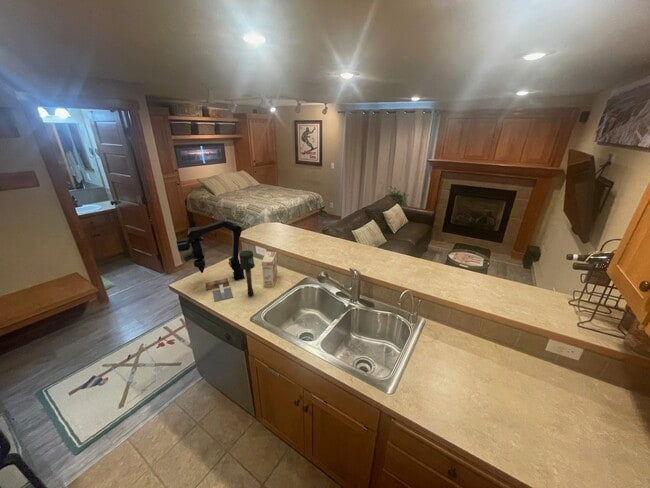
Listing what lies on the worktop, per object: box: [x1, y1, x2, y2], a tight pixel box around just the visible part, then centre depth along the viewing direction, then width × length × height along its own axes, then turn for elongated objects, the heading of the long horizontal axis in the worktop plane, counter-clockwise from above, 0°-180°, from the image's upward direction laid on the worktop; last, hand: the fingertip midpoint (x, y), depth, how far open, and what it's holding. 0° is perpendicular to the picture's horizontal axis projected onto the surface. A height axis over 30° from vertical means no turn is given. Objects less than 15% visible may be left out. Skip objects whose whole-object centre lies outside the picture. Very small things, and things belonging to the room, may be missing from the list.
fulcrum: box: [212, 284, 234, 303], centre depth 165 cm, size 11×12×4 cm
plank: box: [204, 277, 230, 292], centre depth 173 cm, size 14×4×4 cm, turn 118°
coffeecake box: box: [261, 251, 279, 288], centre depth 177 cm, size 15×7×20 cm, turn 179°
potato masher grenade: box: [238, 250, 256, 297], centre depth 159 cm, size 8×9×30 cm
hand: (202, 269), depth 169 cm, fingers open, 9 cm apart
